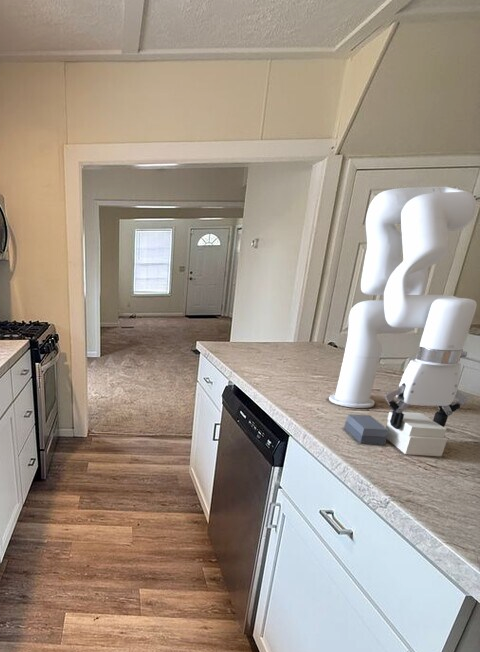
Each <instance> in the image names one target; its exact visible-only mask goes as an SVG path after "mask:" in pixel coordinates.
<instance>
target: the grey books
mask: <svg viewBox="0 0 480 652" xmlns="http://www.w3.org/2000/svg"><path fill="white" fill-rule="evenodd" d="M343 428H344V429H345V431H347V432H348V433H349V434H350V435H351V436H352V437H353V438H354V439H355V440H356V441H357V442H358V443H359V444H365V445H380V446H384V445H385V444H386V441H387V439H386V438H387V437H386V436H387V432H388V429H387V428H386V426H384V425H383V424H382V423H381V422H379V420H377V419H375V418H374V416H372V415H369V414H368V415H367V414H347V418H346V420H345V422H344V427H343Z"/></svg>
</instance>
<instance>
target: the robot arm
mask: <svg viewBox="0 0 480 652" xmlns="http://www.w3.org/2000/svg"><path fill="white" fill-rule="evenodd" d="M476 212H477V200H476V197H475V196H474V195H473V193H472V192H469V191H467V190H463V189H459V188H456V187H450V186H445V185H444V186H419V187H418V186H417V187H416V186H414V187H413V186H411V187H398V188H389V189H387V190H383V191H381V192H379V193H377V195H375V196H374V197H373V199H372V200H371V202H370V204H369V206H368V209H367V212H366V217H365V234H366V251H365V256H364V260H363V261H364V262H363V267H362V273H361V279H360V290H361V292H362V293H363V294H365V295H368V296H383V299H370V300H369V299H367V300H363V301H360V302H357V303H356V304H354V305H353V306H352V307H351V308H350V311H349V313H348V321H347V323H348V324H347V325H348V326H347V338H346V339H347V340H346V343H345V348H344V352H343V353H344V354H343V359H342V363H341V368H340V372H339V375H338V376H339V377H338V381H337V386H336V389H335V393H333V394H331V395H329V396H328V400H329V402H331V403H332V404H335V405H337V406H342V407H346V408H353V409H368V408H372V407H374V406H375V400H373V399H372V398H371V395H372V391H373V387H374V383H375V379H376V376H377V372H378V368H379V363H380V360H381V355H382V351H383V349H382V348H383V347H382V344H381V342H380V339H379V338H378V336H377V335H379V334H380V335H381V334H392V335H394V334H401V335H402V334H406V333H409V332H411V331H413V329H423V332H422V335H421V339H420V341H419V346H418V349H417V352H416V356H415V359H411V360H409V363H408V364H407V366H406V368H405V370H404V372H403V374H402V376H401V379H400V381H399V384H398V386H397V387H396V388H393V389H391V390H389V391H387V392H385V393H384V394H383V397H384V399H385V401H386V403H387V405H388V406H389V407H390V409H391V410H392V412H393V413H392V416H391V420H390V423H391V426H393V427H394V428H395V429H400V427H401V424H402V420H403V417H404V414H403V413H402V412H405V410H407V409H408V408H409V407H410V406H422V407H423V406H424V407H425V406H426V407H437V408H438V411H436V412H435V413H434V416H433V419H432V420H433V421H434V422H436V423H438V424H439V425H441V426H443V427H444V428H445V426H446V424H447V421H448V417H449V416H452V414H453V413H454V412H456V411H457V410H459V409H460V408H461V407H462V406H463V405H464V404H465V403H466V402H467V401H469V397H468V396H467V395H465V394H464V393H462V392H461V391H459V390H458V388H459V383H460V378H461V370H462V369H461V368H462V367H461V366H462V365H461V363H459V362H461V361H460V360H461V359H463V358H466V357H467V356H468V351H464V347H465V343H466V340H467V337H468V334H469V331H470V328H471V325H472V323H473V319H474V316H475V313H476V309H477V307H478V305H477V301H476V300H475V299H472V298H465V297H458V296H456V295H452V294H451V295H450V294H425V293H426V290H427V285H428V281H429V269H428V268H431V267H432V266H434V265H437V264H438V263H440V262H441V261H443V260H444V259H445V258H446V257H447V256H448V254H449V251H450V244H449V234H448V233H449V232H458V231H461V230H463V229H465V228H466V227H468V225H470V224H471V222H472V221H473V219H474V218H475V215H476ZM395 225H400V227H401V233H400V231H399V229H398V228H397V226H395ZM402 256H403V257H402ZM394 398H396V399H398V400H397V401H395V399H394Z"/></svg>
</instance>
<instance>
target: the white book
mask: <svg viewBox="0 0 480 652" xmlns="http://www.w3.org/2000/svg"><path fill="white" fill-rule="evenodd" d="M392 413H393V411H388V415H387V419H386V420H387V421H390V420H391V416H392ZM402 413H403V414H404V417H403V420H402V424H401V427H400V429H401V430H402V431H404V432H405V433H406V434H408V435H409V436H422V437H441V438H444V437H445V435H446V431H447V428H446V427H445V426H444V427H443V426H441V425H439V424H438V423H436V422H434V421H433V419H431V418H429V417H428V416H426V415H425V414H423V413H422V412H409V411H408V412H406V411H403V412H402Z"/></svg>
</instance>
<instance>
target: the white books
mask: <svg viewBox="0 0 480 652" xmlns="http://www.w3.org/2000/svg"><path fill="white" fill-rule="evenodd" d="M385 428H387V429H388V432H387V436H386V437H387V438H386V441H388V442H390V443H391V444H392V445H394V446H395V447H396V449H398V450H399V451H400V452H402V453H403V454H404V455H410V456H411V455H413V456H427V457H428V456H429V457H443V453H444V450H445V448H446V444H447V441H448V438H446V437H445V436H444V438H441V437H422V436H409V435H408V434H406V433H405V432H404V431H402V430H401V429H395V428H394V427H393V426H391V423H390V421H389V420H387V423H386V426H385Z"/></svg>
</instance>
